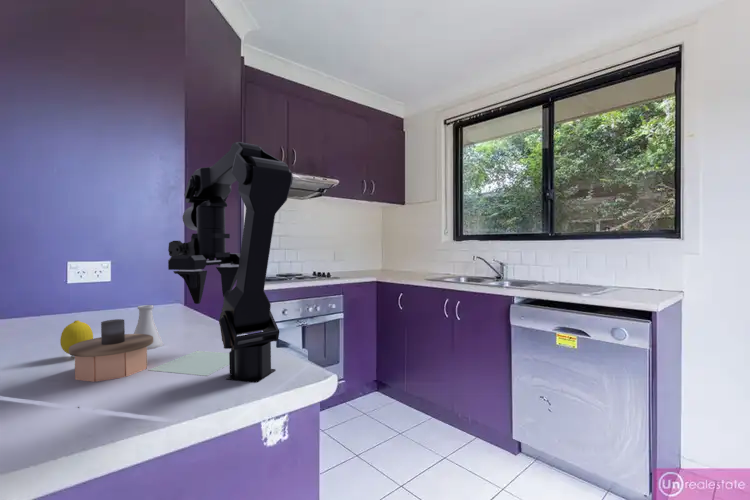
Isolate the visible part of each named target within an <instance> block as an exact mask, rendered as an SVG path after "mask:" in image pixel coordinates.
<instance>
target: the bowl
mask: <svg viewBox="0 0 750 500" xmlns="http://www.w3.org/2000/svg"><path fill="white" fill-rule="evenodd" d="M147 368H148V350H147V347H144V348H141V349H138V350H134V351H130V352H126V353H120V354H114V355H107V356H96V357H77V356H74V378H75V379H74V380H76V381H84V382H102V381H109V380H114V379H120V378H121V379H122V378H126V377H129V376H132V375H134V374H136V373H139V372H141V371H144V370H146V369H147Z"/></svg>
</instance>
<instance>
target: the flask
mask: <svg viewBox="0 0 750 500" xmlns="http://www.w3.org/2000/svg"><path fill="white" fill-rule="evenodd" d="M137 310H138V320H137V324H136V326H135V327H136V328H135V330H134V333H133V334H147V335H151V336H153V343H152V344H151V345H149V346H147V351H149V350H154V349H157V348H160V347H164V346H165V344H164V342H163V339H162V337H161V335H160V333H159V331H158V328H157V325H156V323H155V320H154V316H153V310H154V305H152V304H145V305H138V306H137Z"/></svg>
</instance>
